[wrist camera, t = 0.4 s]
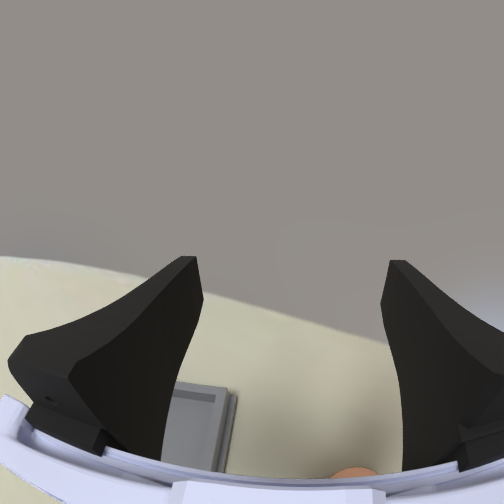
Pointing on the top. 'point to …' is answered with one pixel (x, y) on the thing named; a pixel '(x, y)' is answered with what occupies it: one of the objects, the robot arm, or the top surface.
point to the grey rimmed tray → (198, 427)
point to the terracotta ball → (354, 473)
